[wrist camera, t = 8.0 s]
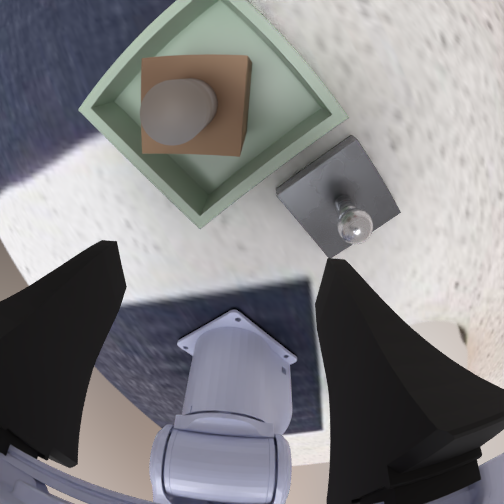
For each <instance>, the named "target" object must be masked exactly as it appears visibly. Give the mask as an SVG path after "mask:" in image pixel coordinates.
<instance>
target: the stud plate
mask: <svg viewBox="0 0 504 504" xmlns="http://www.w3.org/2000/svg"><path fill="white" fill-rule="evenodd" d="M276 194H277V197H278V198H279V199H280V201H281V202H282V203H283V204H284V205H285V206H286V208H287V209H288V210H289V211H290V212H291V213H292V215H293V216H294V217H295V218H296V219H297V220H298V222H299V223H300V224H301V225H302V226H303V228H304V229H305V230H306V231H307V232H308V234H309V235H310V236H311V237H312V238H313V240H314V241H315V242H316V243H317V244H318V246H319V247H320V248H321V249H322V250H323V252H324V253H325V254H326V255H327V257H328V258H332V257H333V256H335V255H337V254H338V253H340V252H341V251H343V250H344V249H346V248H348V247H349V246H351V245H352V244H360V243H362V242H364V241H366V240H367V239H368V238H369V237H370V235H371V233H372V231H374V230H375V229H377V228H378V227H380V226H381V225H383V224H384V223H386V222H387V221H389V220H390V219H392V218H393V217H395V216H396V215H398V214H399V213H401V212H400V210H399V208H398V206H397V205H396V203H395V201H394V199H393V197H392V196H391V194H390V192H389V190H388V188H387V187H386V185H385V183H384V182H383V180H382V178H381V176H380V175H379V173H378V171H377V170H376V168H375V166H374V165H373V163H372V162H371V160H370V158H369V157H368V155H367V154H366V152H365V151H364V149H363V148H362V146H361V144H360V143H359V141H358V140H357V139H356V138H355V137H353V136H352V135H351V136H350V137H348V138H347V139H345V140H344V141H342V142H341V143H339V144H338V145H337V146H335V147H334V148H332V149H331V150H329V151H328V152H327V153H325V154H324V155H322V156H321V157H320V158H318V159H317V160H315V161H314V162H313V163H311V164H310V165H308V166H307V167H306V168H304V169H303V170H301V171H300V172H299V173H297V174H296V175H294V176H293V177H292V178H290V179H289V180H288V181H286V182H285V183H283V184H282V185H281V186H279V187H278V188H277V189H276Z"/></svg>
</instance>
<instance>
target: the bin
mask: <svg viewBox="0 0 504 504" xmlns="http://www.w3.org/2000/svg"><path fill="white" fill-rule="evenodd" d="M203 54H217V55H246V56H248V57H249V58H250V60H251V61H252V74H251V86H250V98H249V111H248V123H247V133H246V137H245V140H244V144H243V148H242V151H241V155H240V157H236V156H220V155H198V154H142V139H141V120H140V107H141V62H142V58H148V57H159V56H174V55H203ZM78 110H79V111H80V112H81V113H82V114H83V115H84V116H85V117H86V118H87V119H88V120H89V121H90V122H91V123H92V124H93V125H94V126H95V127H96V128H97V129H98V130H99V131H100V132H101V133H102V134H103V135H104V136H105V137H106V138H107V139H108V140H109V141H110V142H111V143H112V144H113V145H114V146H115V147H116V148H117V149H118V150H119V151H120V152H121V153H122V154H123V155H124V156H125V157H126V158H127V159H128V160H129V161H130V162H131V163H132V164H133V165H134V166H135V167H136V168H137V169H138V170H139V171H140V172H141V173H142V174H143V175H144V176H145V177H146V178H147V179H148V180H149V181H150V182H151V183H152V184H153V185H154V186H155V187H157V188H158V189H159V190H160V191H161V192H162V193H163V194H164V195H165V196H166V197H167V198H168V199H169V200H170V201H171V202H172V203H173V204H174V205H175V206H176V207H177V208H178V209H179V210H180V211H181V212H182V213H183V214H184V215H186V216H187V217H188V218H189V219H190V220H191V221H192V222H193V223H194V224H195V225H196V226H197V227H198V228H199V229H201V228H202V227H204V226H205V225H206V224H207V223H209V222H210V221H211V220H212V219H214V218H215V217H216V216H217V215H219V214H220V213H221V212H222V211H224V210H225V209H226V208H227V207H229V206H230V205H231V204H232V203H234V202H235V201H236V200H238V199H239V198H240V197H241V196H243V195H244V194H245V193H247V192H248V191H249V190H250V189H252V188H253V187H254V186H256V185H257V184H258V183H260V182H261V181H262V180H264V179H265V178H266V177H267V176H269V175H270V174H271V173H273V172H274V171H275V170H277V169H278V168H279V167H281V166H282V165H283V164H285V163H286V162H288V161H289V160H290V159H292V158H293V157H294V156H296V155H297V154H298V153H300V152H301V151H303V150H304V149H305V148H307V147H308V146H309V145H311V144H312V143H314V142H315V141H316V140H318V139H319V138H321V137H322V136H323V135H325V134H326V133H328V132H329V131H331V130H332V129H333V128H335V127H336V126H338V125H339V124H341V123H342V122H344V121H345V120H346V119H348V118H349V117H348V116H347V114H346V113H345V111H344V110H343V109H342V107H341V106H340V105H339V103H338V102H337V100H336V99H335V98H334V96H333V95H332V94H331V92H330V91H329V90H328V89H327V87H326V86H325V85H324V83H323V82H322V81H321V80H320V78H319V77H318V76H317V75H316V73H315V72H314V71H313V70H312V69H311V67H310V66H309V65H308V64H307V63H306V62H305V60H304V59H303V58H302V57H301V56H300V55H299V53H298V52H297V51H296V50H295V49H294V48H293V47H292V46H291V44H290V43H289V42H288V41H287V40H286V39H285V38H284V37H283V36H282V35H281V34H280V33H279V32H278V31H277V30H276V29H275V27H274V26H273V25H272V24H271V23H270V22H269V21H268V20H267V19H266V18H265V17H264V16H263V15H261V14H260V13H259V12H258V11H257V10H256V9H255V8H254V7H253V6H252V5H251V4H250V3H249V2H248V1H247V0H177V1H176V2H174V3H173V4H172V5H171V6H170V7H169V8H167V9H166V10H165V11H164V12H163V13H162V14H161V15H160V16H159V17H158V18H157V19H155V20H154V21H153V22H152V23H151V24H150V25H149V26H148V27H147V28H146V29H145V30H144V31H143V32H142V33H141V34H140V35H139V36H138V37H137V38H136V39H135V40H134V41H133V42H132V44H131V45H130V46H129V47H128V48H127V49H126V50H125V51H124V52H123V53H122V55H121V56H120V57H119V58H118V59H117V60H116V61H115V63H114V64H113V65H112V66H111V67H110V69H109V70H108V71H107V72H106V73H105V75H104V76H103V77H102V78H101V80H100V81H99V82H98V83H97V85H96V86H95V87H94V89H93V90H92V91H91V93H90V94H89V95H88V97H87V98H86V100H85V101H84V102H83V104H82V105H81V107H80V108H79V109H78Z"/></svg>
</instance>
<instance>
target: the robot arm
mask: <svg viewBox="0 0 504 504" xmlns="http://www.w3.org/2000/svg"><path fill="white" fill-rule="evenodd" d="M126 287H127V286H126V282H125V278H124V274H123V269H122V265H121V260H120V255H119V250H118V245H117V241H105V240H102V241H100V242H98V243H96V244H94V245H92V246H91V247H89V248H87V249H86V250H84V251H83V252H81V253H79V254H78V255H76V256H75V257H73V258H72V259H70V260H69V261H67V262H66V263H64V264H63V265H61V266H60V267H58V268H57V269H55V270H54V271H52V272H50V273H49V274H47V275H46V276H44V277H43V278H41V279H39V280H38V281H36V282H35V283H33V284H32V285H30V286H28V287H27V288H25V289H23V290H21V291H20V292H18V293H16V294H14V295H12V296H10V297H9V298H7V299H5V300H3V301H0V504H73V503H71V502H69V501H66V500H63V499H61V498H59V497H57V496H54V495H52V494H50V493H49V492H48V490H47V487H46V485H48V486H50V487H52V488H54V489H56V490H58V491H60V492H63V493H65V494H67V495H69V496H71V497H74V498H76V499H78V500H81V501H83V502H86V503H88V504H285V503H286V499H287V497H288V494H289V490H290V484H291V470H292V463H291V451H290V446H289V443H288V441H287V440H286V439H285V438H284V437H283V436H282V434H283V433H284V432H285V430H286V429H287V427H288V425H289V423H290V420H291V417H292V394H291V375H290V364H293V363H295V362H296V361H297V357H296V356H295V355H294V354H292V353H291V352H290V351H289V350H287V349H286V348H285V347H283V346H282V345H281V344H279V343H278V342H277V341H276V340H274V339H273V338H272V337H271V336H269V335H268V334H267V333H265V332H264V331H263V330H262V329H260V328H259V327H258V326H257V325H255V324H254V323H253V322H252V321H250V320H249V319H248V318H247V317H245V316H244V315H243V314H242V313H241V312H239V311H238V310H230V311H229V312H227V313H225V314H223V315H222V316H220V317H218V318H217V319H215V320H213V321H211V322H210V323H208V324H206V325H204V326H203V327H201V328H199V329H197V330H196V331H194V332H192V333H190V334H188V335H187V336H185V337H183V338H181V339H180V340H178V342H177V345H178V346H179V347H180V348H182V349H183V350H185V351H186V352H188V353H189V354H191V355H192V356H193V358H192V363H191V368H190V373H189V378H188V383H187V389H186V394H185V399H184V405H183V410H182V415H176V418H175V423H174V425H170V424H167V425H166V426H164V428H163V429H161V430H160V431H159V432H158V433H157V435H156V437H155V439H154V442H153V446H152V450H151V456H150V480H151V483H152V487H153V502H151V501H147V500H143V499H139V498H135V497H131V496H128V495H124V494H121V493H118V492H114V491H112V490H108V489H105V488H102V487H99V486H97V485H94V484H91V483H89V482H86V481H83V480H81V479H78V478H76V477H73V476H71V475H69V474H67V473H64V472H62V471H60V470H57V469H55V468H53V467H51V466H49V465H47V464H45V463H43V462H41V461H39V460H37V457H38V456H39V457H41V458H43V459H45V460H48V458H49V459H51V460H53V461H55V462H57V463H60V464H62V465H64V466H66V467H69V468H71V467H74V466H76V465H77V464H78V443H79V432H80V424H81V417H82V411H83V406H84V402H85V397H86V393H87V388H88V385H89V381H90V377H91V374H92V370H93V367H94V365H95V362H96V359H97V357H98V355H99V352H100V350H101V348H102V346H103V344H104V341H105V339H106V337H107V335H108V333H109V331H110V328H111V326H112V324H113V322H114V320H115V318H116V316H117V313H118V311H119V308H120V306H121V303H122V300H123V297H124V293H125V290H126ZM315 308H316V322H317V331H318V337H319V342H320V347H321V352H322V357H323V362H324V368H325V373H326V378H327V384H328V391H329V404H330V440H331V443H330V470H329V484H328V493H327V504H504V453H502V454H501V455H499V456H497V457H495V458H493V459H491V460H489V461H487V462H485V463H484V464H482V465H480V466H478V463H477V459H479V458H480V457H481V456H482V452H481V449H480V446H482V445H483V444H485V443H486V442H487V441H489V440H490V439H492V438H493V437H494V436H496V435H497V434H498V433H500V432H501V431H502V430H503V429H504V389H502V388H500V387H498V386H496V385H494V384H492V383H490V382H488V381H486V380H484V379H482V378H480V377H478V376H477V375H475V374H473V373H472V372H470V371H468V370H467V369H465V368H464V367H462V366H460V365H459V364H457V363H456V362H454V361H453V360H451V359H450V358H448V357H447V356H446V355H444V354H443V353H442V352H440V351H439V350H438V349H436V348H435V347H434V346H432V345H431V344H430V343H429V342H427V341H426V340H425V339H424V338H423V337H421V336H420V335H419V334H418V333H417V332H415V331H414V330H413V329H412V328H411V327H410V326H409V325H408V324H406V323H405V322H404V321H403V320H402V319H401V318H400V317H399V316H398V315H397V314H396V313H395V312H394V311H393V310H392V309H391V308H390V307H389V306H388V305H387V304H386V303H385V302H384V301H383V300H382V299H381V298H380V297H379V296H378V294H377V293H376V292H375V291H374V290H373V289H372V288H371V287H370V286H369V285H368V284H367V283H366V281H365V280H364V279H363V278H362V277H361V276H360V275H359V274H358V273H357V272H356V271H355V269H354V268H353V267H352V266H351V265H350V264H349V263H348V262H347V261H346V260H343V259H331V258H328V259H327V263H326V266H325V270H324V274H323V278H322V281H321V285H320V289H319V292H318V296H317V299H316V303H315ZM45 484H46V485H45Z"/></svg>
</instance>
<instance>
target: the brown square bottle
mask: <svg viewBox="0 0 504 504" xmlns="http://www.w3.org/2000/svg"><path fill="white" fill-rule="evenodd" d="M251 74H252V61H251V60H250V58H249V57H248V56H246V55H217V54H203V55H174V56H159V57H148V58H142V62H141V107H140V120H141V139H142V154H198V155H220V156H236V157H240V155H241V151H242V148H243V144H244V140H245V137H246V133H247V123H248V111H249V98H250V86H251Z"/></svg>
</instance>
